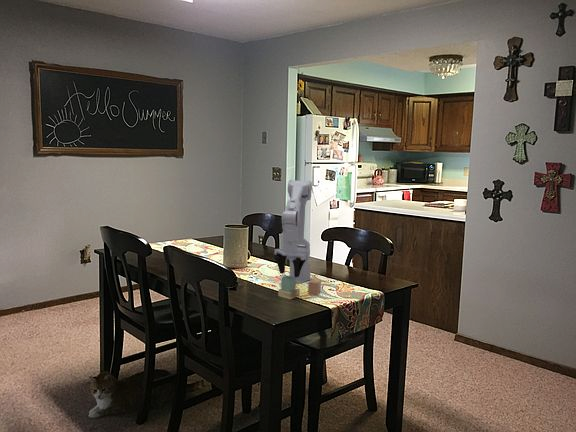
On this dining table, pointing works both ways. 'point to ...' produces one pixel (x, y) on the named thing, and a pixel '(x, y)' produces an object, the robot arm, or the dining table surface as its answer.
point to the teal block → (288, 283)
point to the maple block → (289, 293)
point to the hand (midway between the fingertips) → (289, 274)
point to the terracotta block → (314, 287)
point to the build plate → (235, 286)
